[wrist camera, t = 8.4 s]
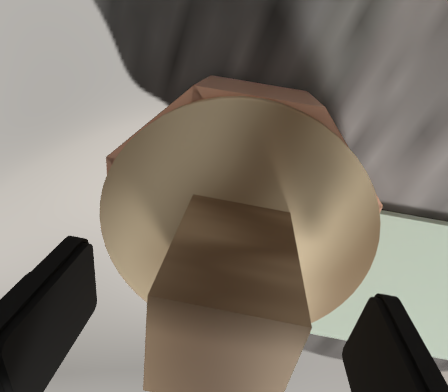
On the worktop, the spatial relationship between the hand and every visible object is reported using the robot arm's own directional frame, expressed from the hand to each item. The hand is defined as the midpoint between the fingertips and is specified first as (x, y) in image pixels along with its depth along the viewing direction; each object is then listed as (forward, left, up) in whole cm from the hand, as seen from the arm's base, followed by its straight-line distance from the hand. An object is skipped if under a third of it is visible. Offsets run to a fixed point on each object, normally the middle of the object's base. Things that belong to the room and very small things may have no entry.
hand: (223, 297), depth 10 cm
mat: (-13, +6, -9) cm, 16 cm away
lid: (0, 0, -4) cm, 4 cm away
